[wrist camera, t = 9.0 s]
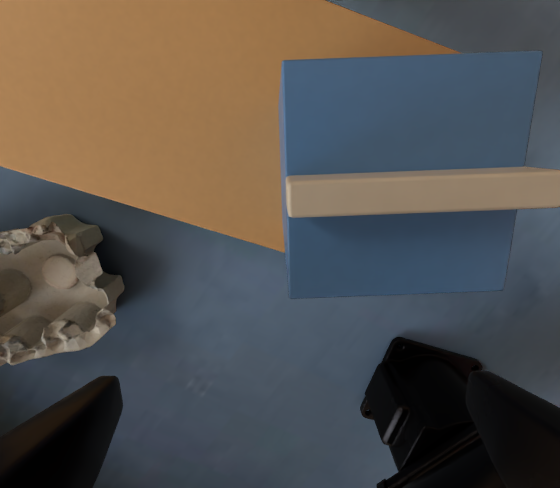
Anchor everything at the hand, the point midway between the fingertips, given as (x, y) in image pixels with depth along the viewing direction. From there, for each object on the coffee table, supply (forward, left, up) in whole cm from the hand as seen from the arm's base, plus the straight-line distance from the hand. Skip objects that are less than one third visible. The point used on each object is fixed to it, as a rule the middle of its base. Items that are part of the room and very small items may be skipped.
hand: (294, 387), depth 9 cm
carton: (-1, -6, -8) cm, 10 cm away
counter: (+5, -6, -13) cm, 15 cm away
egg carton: (+14, +7, -13) cm, 20 cm away
